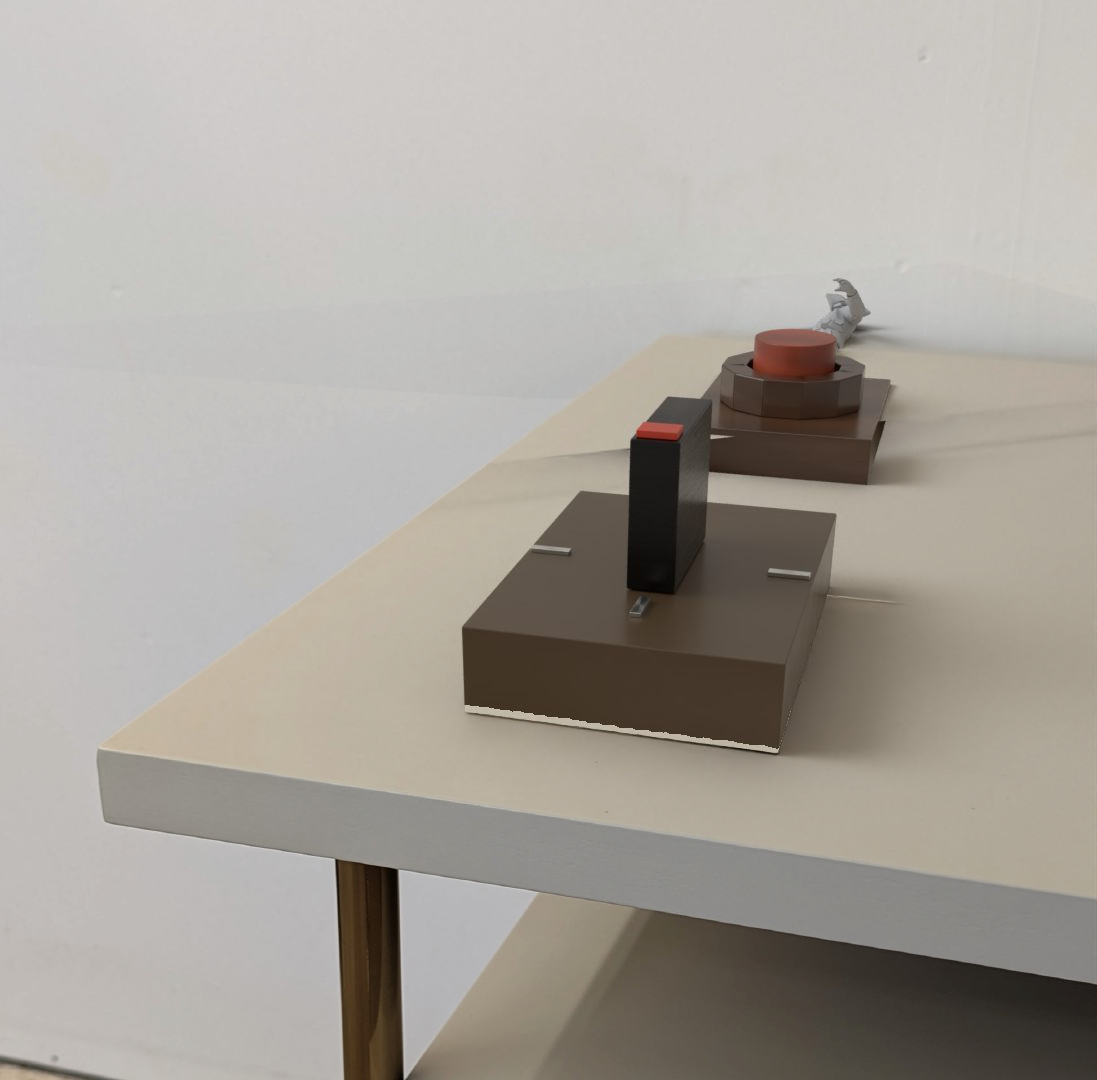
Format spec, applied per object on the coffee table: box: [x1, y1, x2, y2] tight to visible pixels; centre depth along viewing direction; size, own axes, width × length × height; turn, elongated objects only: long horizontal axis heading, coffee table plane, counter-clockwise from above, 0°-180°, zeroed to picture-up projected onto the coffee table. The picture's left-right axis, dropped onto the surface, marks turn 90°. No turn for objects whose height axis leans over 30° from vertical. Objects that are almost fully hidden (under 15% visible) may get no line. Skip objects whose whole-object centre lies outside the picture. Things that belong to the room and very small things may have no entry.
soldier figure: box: [812, 277, 872, 353], centre depth 83 cm, size 8×5×12 cm
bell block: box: [699, 350, 892, 486], centre depth 70 cm, size 12×9×4 cm
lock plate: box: [461, 490, 837, 749], centre depth 48 cm, size 14×10×3 cm
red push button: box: [753, 328, 837, 376], centre depth 69 cm, size 4×4×2 cm
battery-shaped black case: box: [626, 396, 712, 593], centre depth 47 cm, size 6×2×5 cm, turn 164°
